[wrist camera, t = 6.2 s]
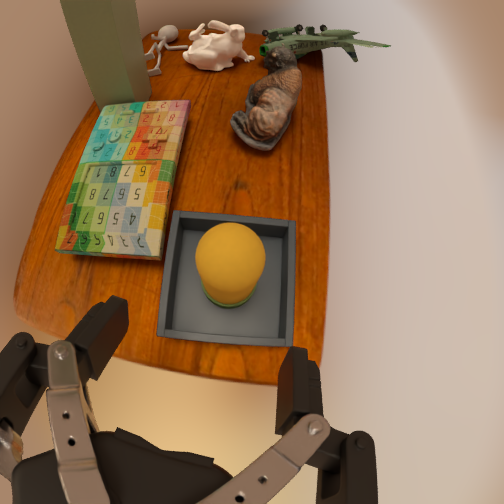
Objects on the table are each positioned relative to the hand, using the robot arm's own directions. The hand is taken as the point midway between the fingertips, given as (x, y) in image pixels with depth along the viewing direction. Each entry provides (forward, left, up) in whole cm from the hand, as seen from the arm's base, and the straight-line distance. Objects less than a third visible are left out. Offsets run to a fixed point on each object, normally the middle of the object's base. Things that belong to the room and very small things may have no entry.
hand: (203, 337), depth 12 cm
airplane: (+13, +52, -6) cm, 54 cm away
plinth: (-17, +30, -14) cm, 37 cm away
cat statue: (+3, +27, -14) cm, 30 cm away
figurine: (-14, +37, -11) cm, 41 cm away
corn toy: (+1, +5, -13) cm, 14 cm away
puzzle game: (-12, +16, -14) cm, 24 cm away
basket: (+1, +5, -14) cm, 15 cm away
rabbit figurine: (-4, +40, -14) cm, 43 cm away
